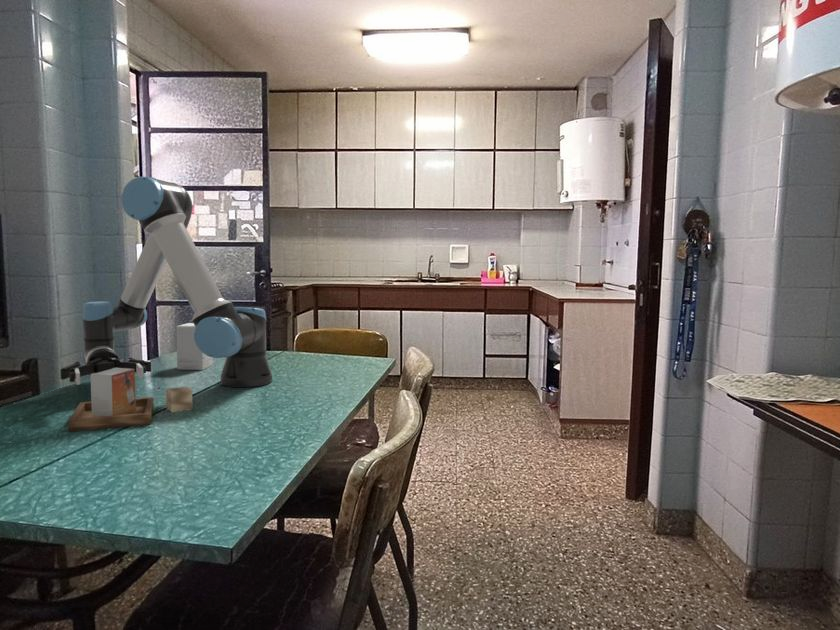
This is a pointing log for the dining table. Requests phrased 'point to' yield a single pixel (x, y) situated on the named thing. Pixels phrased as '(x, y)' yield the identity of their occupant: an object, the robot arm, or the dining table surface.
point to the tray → (111, 417)
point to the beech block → (179, 399)
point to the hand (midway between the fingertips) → (110, 375)
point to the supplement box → (190, 350)
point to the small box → (113, 392)
